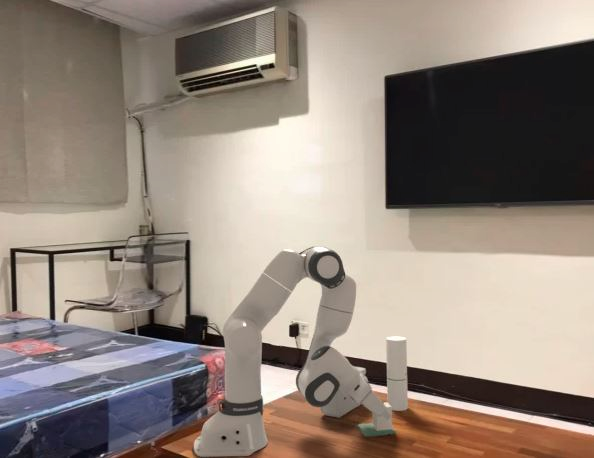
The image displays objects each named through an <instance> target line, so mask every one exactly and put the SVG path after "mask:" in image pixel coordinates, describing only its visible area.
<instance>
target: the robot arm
mask: <svg viewBox="0 0 594 458" xmlns="http://www.w3.org/2000/svg"><path fill="white" fill-rule="evenodd" d="M306 278H309V279H310V280H311V281H313V282H316V283H318V284H320V286H321V296H320V297H321V298H320V300H319V304H318V308H317V314H316V320H315V326H314V327H315V328H314V332H313V335H312V338H311V342H310V346H309V348H308V353H307V356H306V359H305V362H304V363H303V366H302V367H301V368H300V369H299V371H298V372H297V373H296V374H297V375H296V377H295V386H296V389H297V391H298V392H299V393H300V394H301V395H302V397H303V398H304V399H305V400H306V402H307V403H308V404H309V405H310V406H312V407H314V408H320V407H323V406H326V405H327V404H328V403H329V402H330V401H331V400H332V399H333V397H334V396H335V394H336V392H337V391H338V389H339V390H340V391H341V392H342V393H343V394H344V395H345V396H346V397H347V398H348V399H352V400H354V401H356V402H357V403H361V405H362V406H363V407H365V408H366V409H367V410H369V411H370V412H371V413H372V412H373V413H374V414H376V415H377V416H379V417H380V416H383V417H385V418H386V419H387V420H389V419H390V418H391V415H390V414H389V413H388V412H387V411H386V410H387V408H386V406H385V405H384V404H383V402H384V401H383V402H382V400H381V398H380V397H379V396H377V394H376V393H375V392H374V390H373V388H372V385H370V383H369V380H368V377H367V376H366V374H364V375H363V374H362V373H361V372H360V371H359V370H358V369H357V368H356V367H357V366H355V365H352V364H351V363H350V361H349V359H348V358H346V357H345V355H343V354H342V353H341V352H340V351H338V350H337V349H335V348H334V347H333V346H331V345H332V344H333V342H334V341H335V340H336V339H337V338H340V337H342V336H343V335H345V334H347V331H348V330H349V327H350V325H351V323H352V319H353V315H354V310H355V306H356V298H357V283H356V281H355V280H354V278H353V277H351V276H349V275H348V274H346V272H345V268H344V264H343V260H342V258H341V256H340V255H339V254H338V253H337V252H336V251H335V250H333V249H331V248H328V247H325V246H312V247H308V248H306V249H303V251H300V252H298V251H296V250H292V249H288V248H287V249H282V250H281V251H280V252H278V254H276V255H275V256H274V258H273V259H272V260H271V261H270V262H269V263H268V265H267V266H266V267H265V268H264V269H263V271H262V273H261V274H260V276H259V277H258V279H257V280H256V282H254V285H253V286H252V287H251V289H250V290H249V292H248V293H247V295H246V296H245V297H244V298H243V299H242V300H241V302H240V303H239V304H238V306H236V307H235V309H234V310H233V312H232V313H231V314H230V316H229V317H228V318H227V320H226V321H225V323H224V325H223V328H222V336H223V341H224V392H225V393H224V395H225V396H224V397H222V396H218V397H217V398H216V404H217V405H218V411H217V412H216V413H215V414H214V415H212V416H211V417H209V419H207V420H206V421H205V422H204V424H203V425H202V428H201V431H200V435H199V436H198V437H197V438H195V440H194V443H193V452H194V454H195V455H196V456H197V457H201V458H202V457H203V458H204V457H205V458H206V457H207V458H209V457H211V458H213V457H247V456H250V455H253V453H255V452H256V451H259V450H261V449H263V448H264V447H266V446H267V445H268V442H269V440H268V438H267V434H266V431H265V424H264V420H263V419H264V418H263V417H264V397H263V395H262V354H263V353H262V352H263V349H262V348H263V334H262V331H263V330H264V329H265V328H266V327H267V326H268V324H269V323H270V322H271V321H272V320H273V318H275V316H276V315H277V316H278V314H279V313H280V311H281V309H282V308H283V306H284V305H285V304H286V302H287V301H288V299H289V297H290V296H291V294H292V293H293V292H294V290H295V288H296V286H297V285H298V284H299V283H300V282H301V281H302V280H304V279H306Z"/></svg>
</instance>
